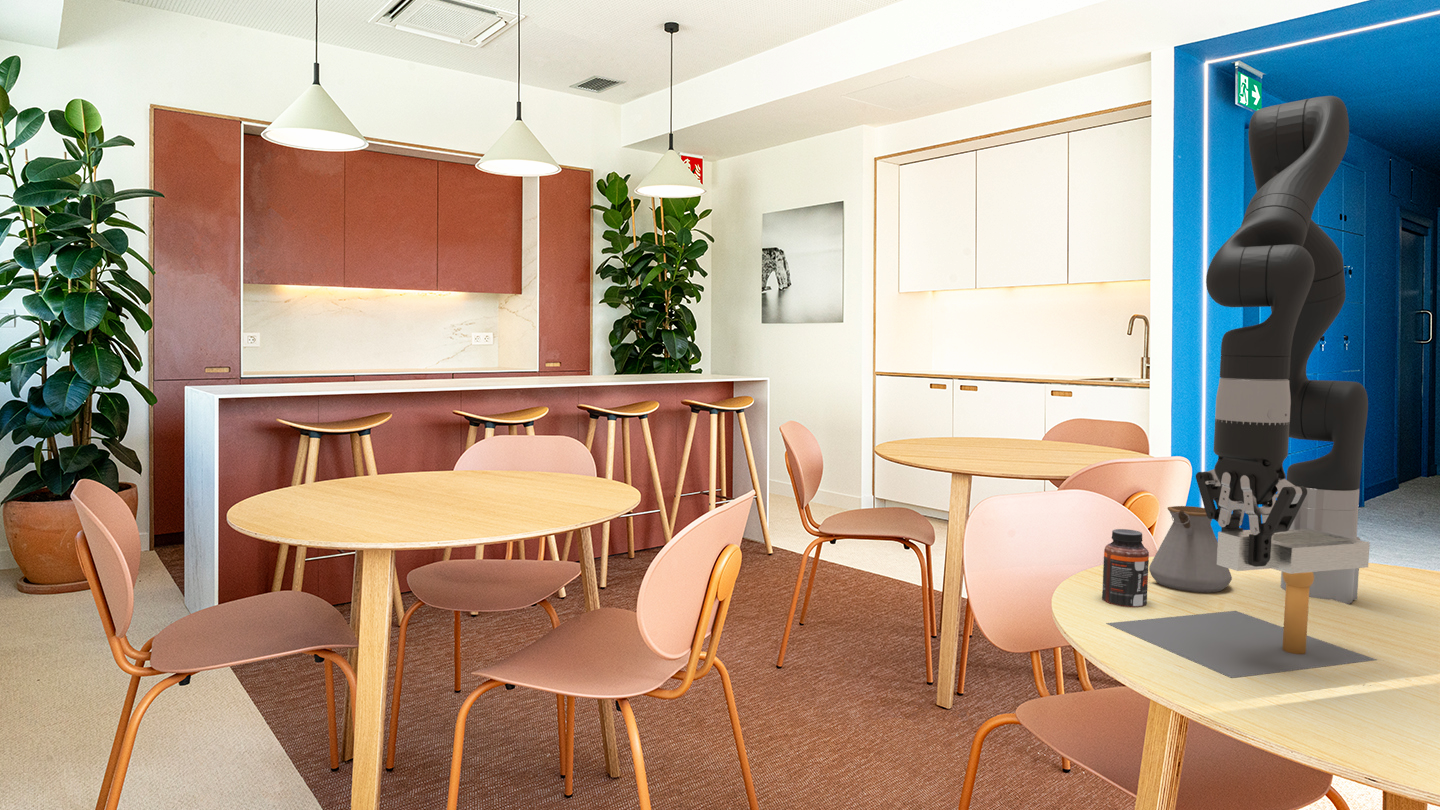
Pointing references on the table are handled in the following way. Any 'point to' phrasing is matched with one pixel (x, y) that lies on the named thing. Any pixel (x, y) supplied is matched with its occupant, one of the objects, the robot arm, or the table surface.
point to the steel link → (1295, 551)
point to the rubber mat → (1235, 644)
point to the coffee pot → (1189, 554)
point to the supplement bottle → (1125, 570)
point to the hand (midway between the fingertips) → (1244, 561)
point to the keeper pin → (1296, 611)
